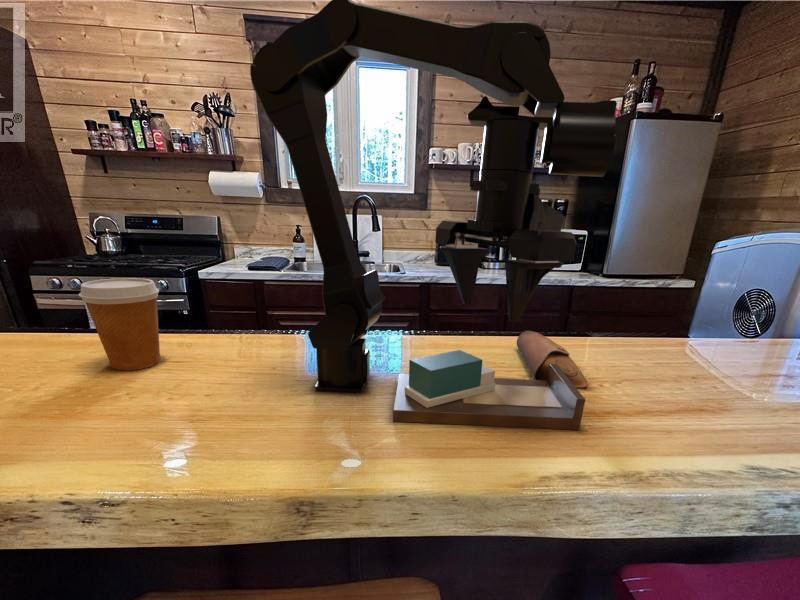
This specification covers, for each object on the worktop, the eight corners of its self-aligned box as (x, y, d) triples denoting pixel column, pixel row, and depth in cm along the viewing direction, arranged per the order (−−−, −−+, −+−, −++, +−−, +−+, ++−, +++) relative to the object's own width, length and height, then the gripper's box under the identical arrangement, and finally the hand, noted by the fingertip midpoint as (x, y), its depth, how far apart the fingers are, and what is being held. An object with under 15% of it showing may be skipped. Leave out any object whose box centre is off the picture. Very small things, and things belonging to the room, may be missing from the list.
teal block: (426, 408, 51) (428, 372, 49) (404, 393, 55) (404, 359, 53) (495, 390, 57) (498, 356, 55) (470, 377, 61) (473, 346, 59)
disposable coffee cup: (184, 361, 67) (171, 283, 62) (118, 379, 59) (96, 291, 55) (151, 349, 71) (136, 275, 67) (85, 364, 64) (63, 282, 59)
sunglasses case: (593, 386, 62) (576, 346, 60) (547, 406, 64) (529, 368, 62) (561, 348, 79) (547, 317, 77) (525, 365, 81) (511, 334, 79)
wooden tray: (392, 421, 51) (393, 390, 49) (399, 383, 62) (399, 356, 61) (579, 430, 51) (585, 399, 49) (552, 390, 62) (556, 364, 60)
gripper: (627, 176, 44) (594, 326, 50) (506, 179, 59) (492, 294, 65) (547, 166, 39) (521, 334, 45) (437, 172, 53) (429, 298, 59)
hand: (488, 312), depth 54 cm, fingers open, 9 cm apart
